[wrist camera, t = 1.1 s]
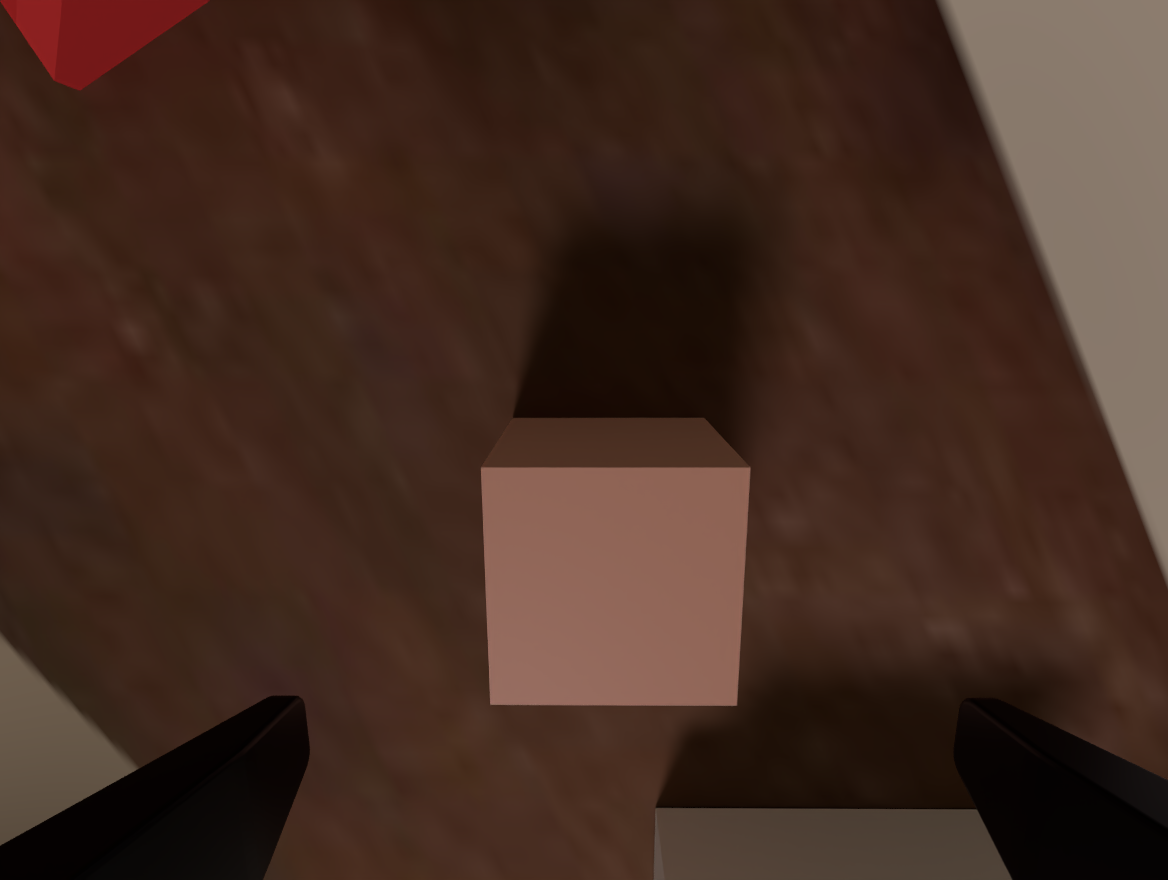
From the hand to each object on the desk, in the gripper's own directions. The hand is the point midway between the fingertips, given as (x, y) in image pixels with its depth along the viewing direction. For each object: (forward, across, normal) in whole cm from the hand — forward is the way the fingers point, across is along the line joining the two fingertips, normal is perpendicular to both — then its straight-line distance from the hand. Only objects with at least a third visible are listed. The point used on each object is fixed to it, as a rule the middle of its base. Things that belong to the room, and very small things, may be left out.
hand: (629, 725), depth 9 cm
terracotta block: (+9, 0, 0) cm, 9 cm away
